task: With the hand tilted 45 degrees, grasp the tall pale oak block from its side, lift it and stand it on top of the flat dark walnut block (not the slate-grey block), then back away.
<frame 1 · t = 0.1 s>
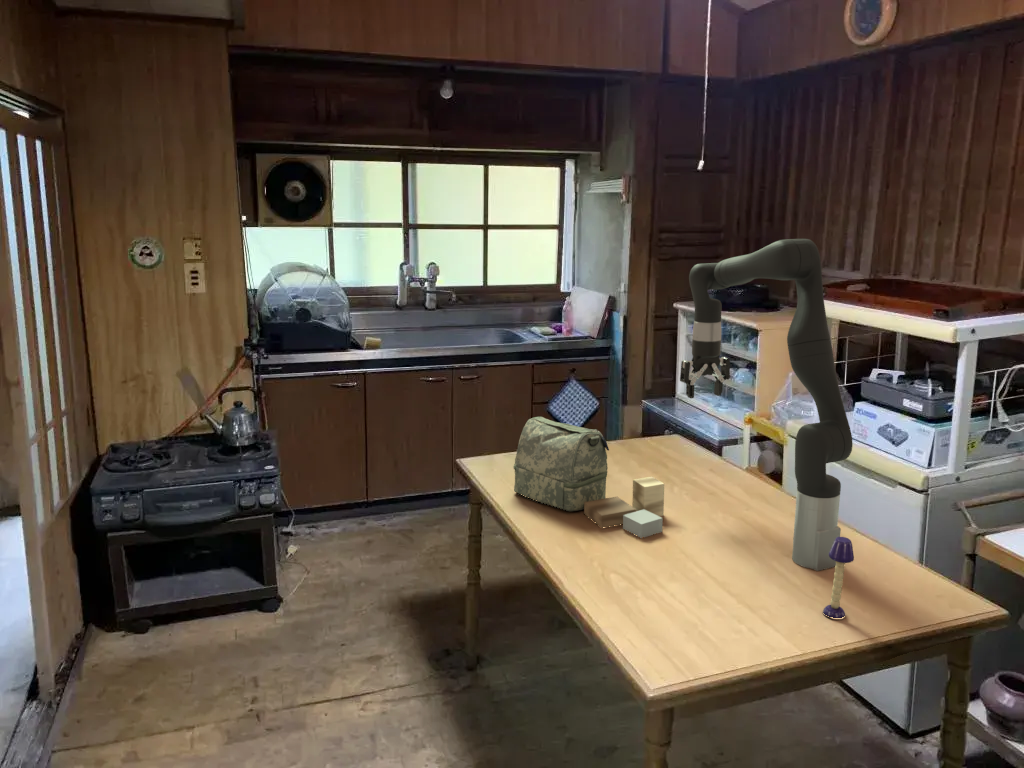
hand: (704, 396, 219), 29 cm above the table, tool pointing down, fingers open, 8 cm apart
oak block: (647, 513, 214), on the table
toy lamp: (835, 616, 162), on the table
walnut block: (609, 519, 211), on the table
grey block: (642, 531, 204), on the table
lunch bag: (561, 497, 227), on the table
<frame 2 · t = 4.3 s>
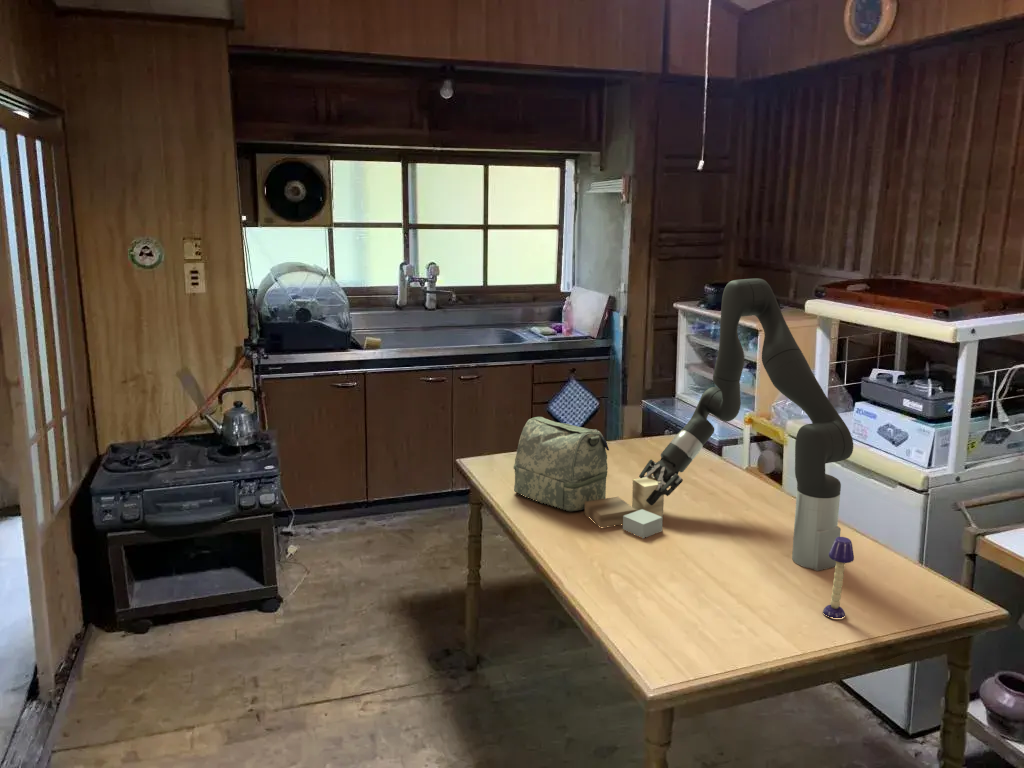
hand: (642, 498, 213), 4 cm above the table, tool tilted 45°, fingers closed on oak block, 6 cm apart
oak block: (647, 513, 214), on the table, touching gripper
everything else where it was.
when the fingers open (9 cm above the table, at t = 9.4 s): oak block drops 1 cm, resting on walnut block.
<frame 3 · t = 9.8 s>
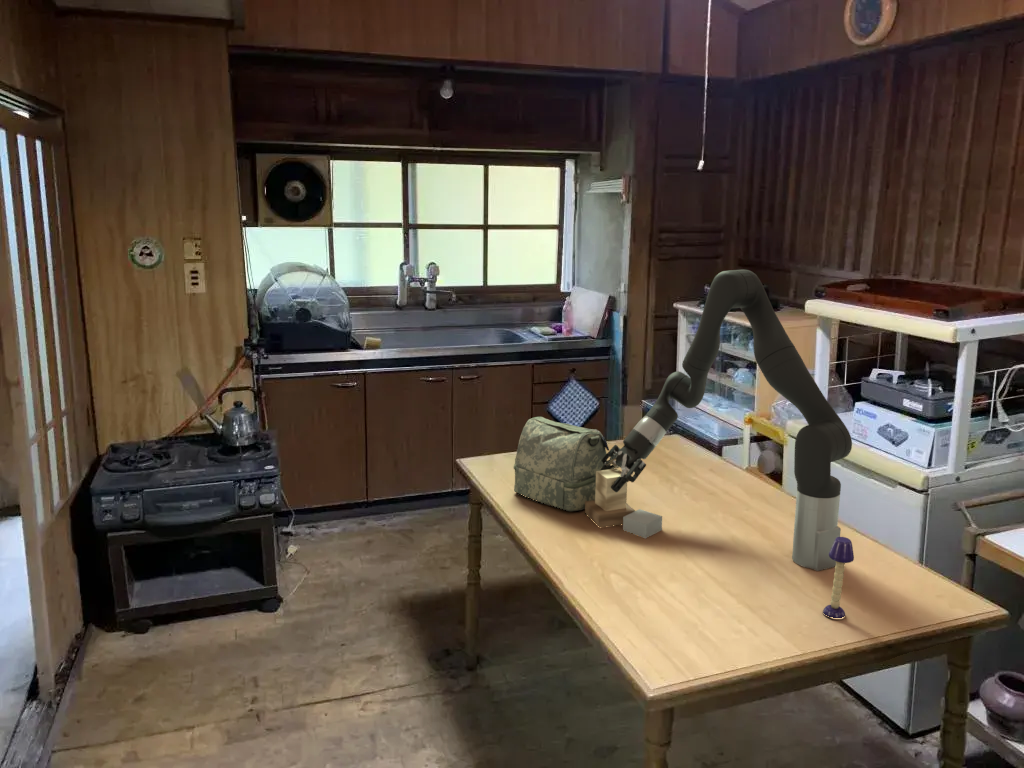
hand: (605, 484, 209), 10 cm above the table, tool tilted 45°, fingers open, 8 cm apart
oak block: (610, 505, 211), point 4 cm above the table, touching walnut block
walnut block: (609, 520, 211), on the table, touching oak block
everything else where it was.
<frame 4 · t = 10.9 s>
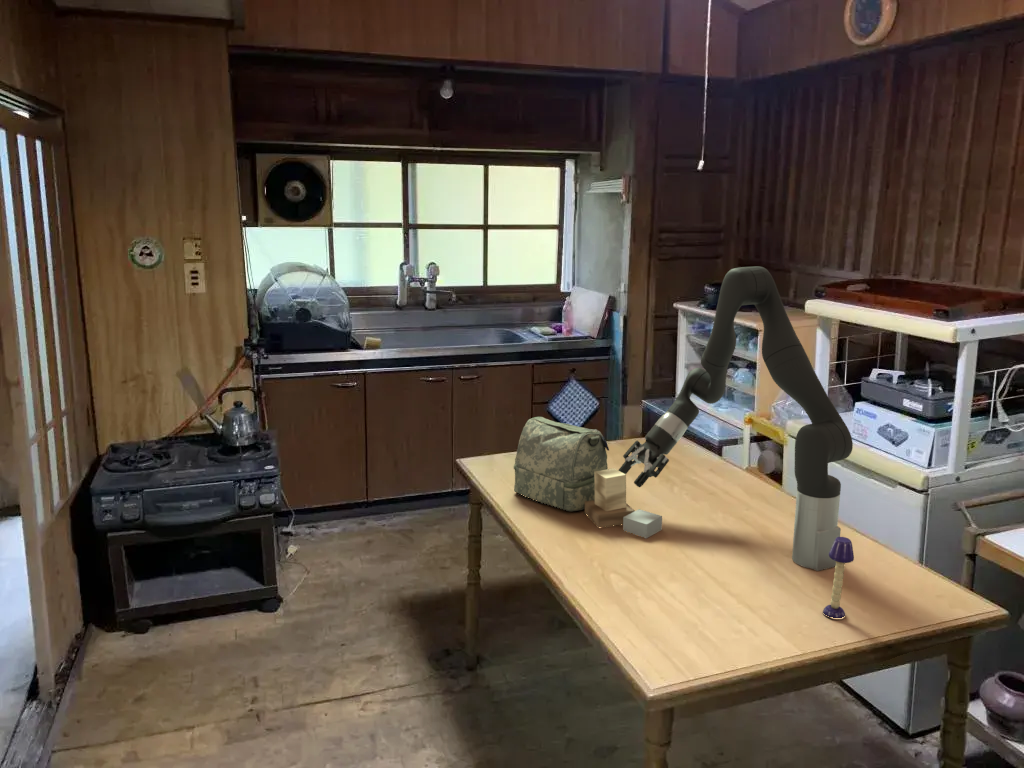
hand: (628, 480, 211), 10 cm above the table, tool tilted 45°, fingers open, 8 cm apart
oak block: (610, 505, 210), point 4 cm above the table
walnut block: (609, 520, 211), on the table
everything else where it was.
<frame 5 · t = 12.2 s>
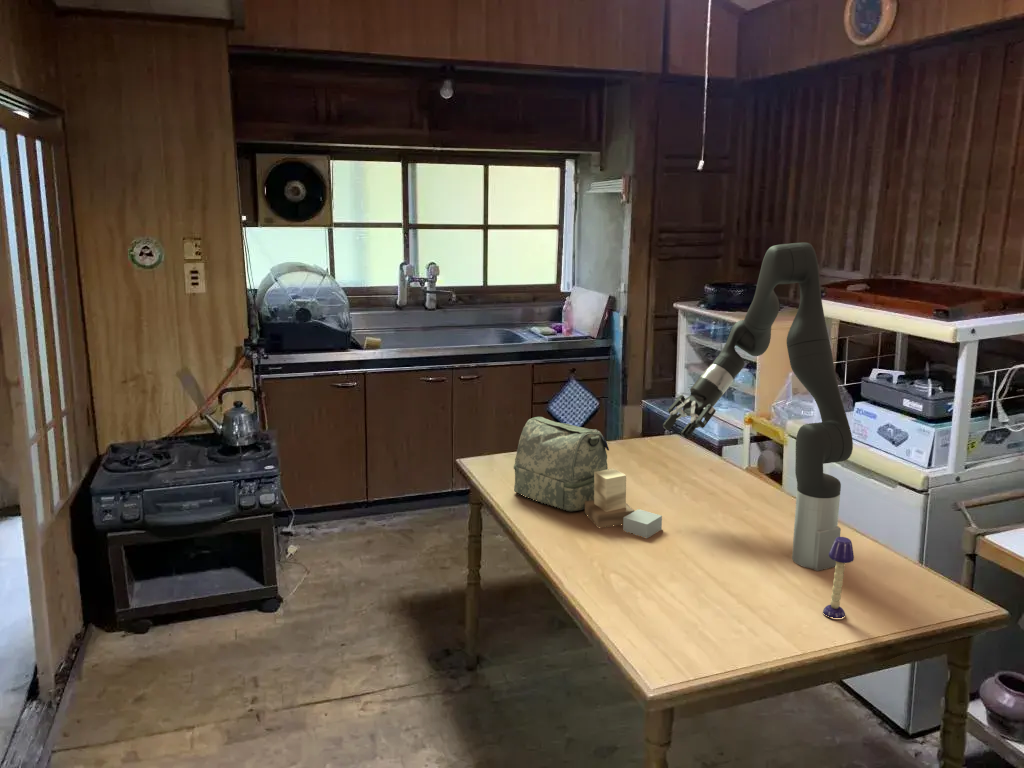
hand: (674, 432, 209), 22 cm above the table, tool tilted 45°, fingers open, 8 cm apart
nothing on the table moved.
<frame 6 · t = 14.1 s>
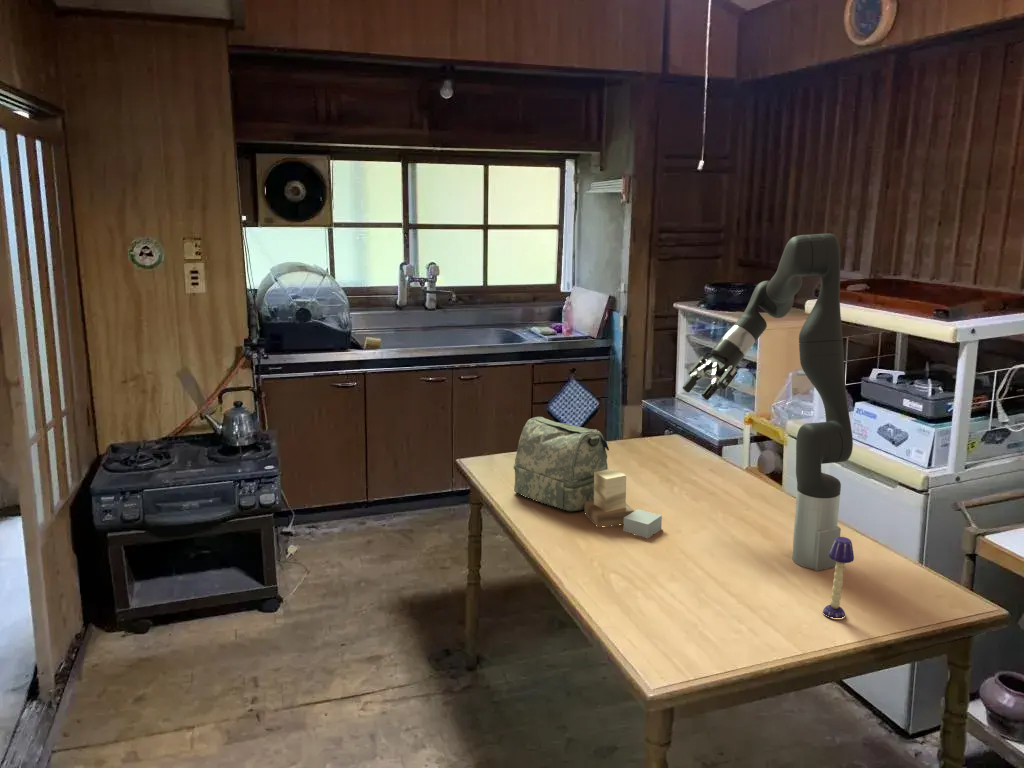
hand: (694, 394, 207), 33 cm above the table, tool tilted 45°, fingers open, 8 cm apart
oak block: (609, 506, 211), point 4 cm above the table, touching walnut block
walnut block: (608, 520, 212), on the table, touching oak block
everything else where it was.
at the end: oak block inside the target area on the walnut block (0.1 cm from its centre), point 4.1 cm above the walnut block's base; oak block tilted 1°; the gripper is holding nothing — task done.
